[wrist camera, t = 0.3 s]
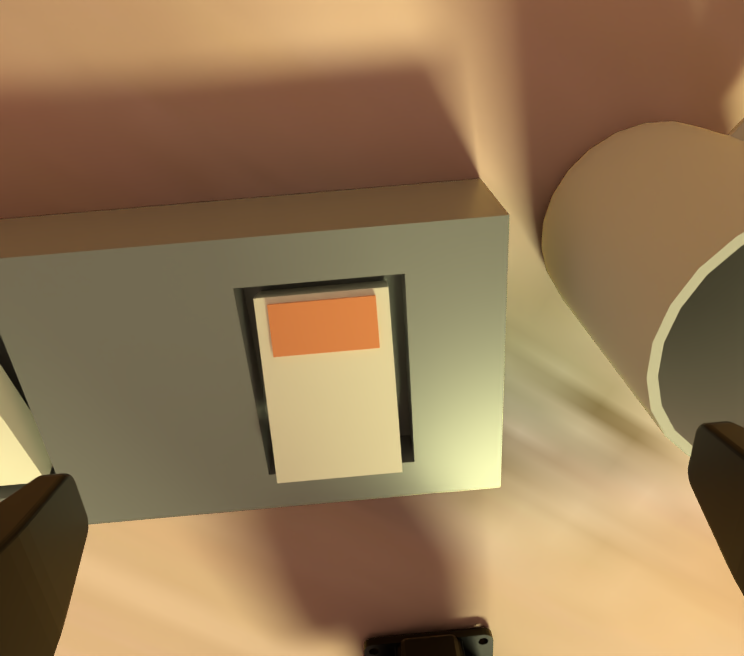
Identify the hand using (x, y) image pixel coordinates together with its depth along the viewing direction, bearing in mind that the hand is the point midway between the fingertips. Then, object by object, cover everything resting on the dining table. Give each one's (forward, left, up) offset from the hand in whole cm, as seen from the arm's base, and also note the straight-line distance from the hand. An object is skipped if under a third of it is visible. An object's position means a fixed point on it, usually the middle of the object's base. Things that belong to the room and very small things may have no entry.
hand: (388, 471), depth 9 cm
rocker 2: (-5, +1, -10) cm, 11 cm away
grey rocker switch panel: (-5, +7, -14) cm, 16 cm away
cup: (-1, -11, -14) cm, 18 cm away
